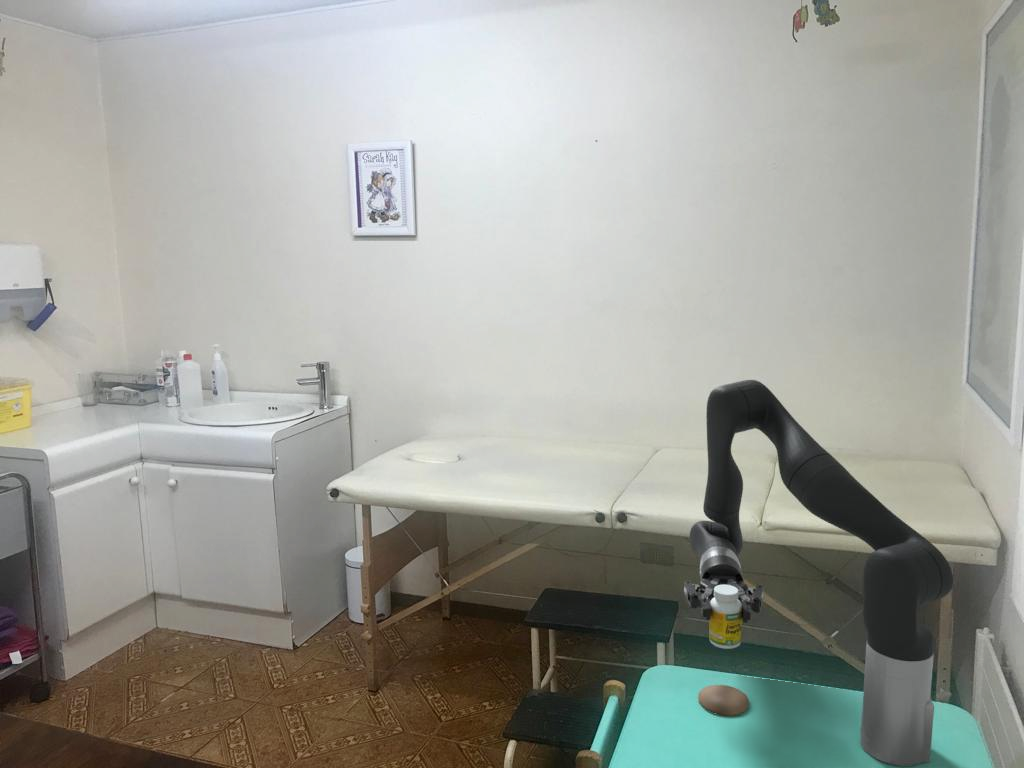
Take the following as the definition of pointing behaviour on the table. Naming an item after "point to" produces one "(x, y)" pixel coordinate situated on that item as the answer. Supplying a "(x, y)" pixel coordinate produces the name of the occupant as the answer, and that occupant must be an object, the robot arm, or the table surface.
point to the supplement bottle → (725, 617)
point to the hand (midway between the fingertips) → (727, 616)
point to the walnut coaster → (723, 700)
